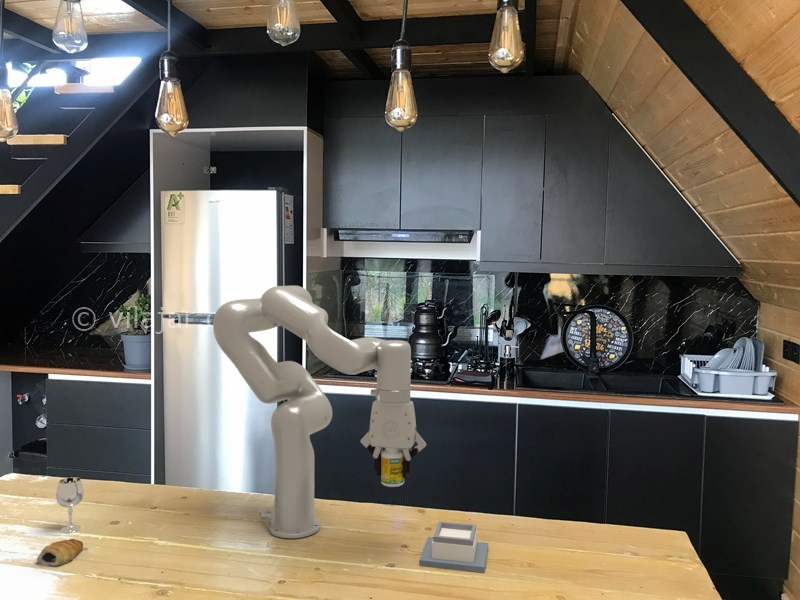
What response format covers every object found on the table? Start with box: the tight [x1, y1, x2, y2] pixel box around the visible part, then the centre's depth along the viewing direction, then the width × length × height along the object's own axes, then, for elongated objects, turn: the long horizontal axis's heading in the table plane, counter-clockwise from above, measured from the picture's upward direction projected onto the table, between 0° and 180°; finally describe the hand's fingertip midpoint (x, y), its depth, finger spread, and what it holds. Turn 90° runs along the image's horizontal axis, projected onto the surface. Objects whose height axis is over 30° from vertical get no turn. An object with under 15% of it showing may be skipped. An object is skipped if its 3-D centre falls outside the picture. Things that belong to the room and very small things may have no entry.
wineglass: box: [56, 476, 84, 534], centre depth 151 cm, size 6×6×12 cm
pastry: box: [36, 538, 84, 567], centre depth 137 cm, size 9×7×4 cm
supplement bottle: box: [380, 448, 406, 488], centre depth 142 cm, size 5×5×10 cm
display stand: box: [418, 520, 489, 574], centre depth 140 cm, size 14×12×6 cm
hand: (392, 474), depth 142 cm, fingers closed on supplement bottle, 5 cm apart
